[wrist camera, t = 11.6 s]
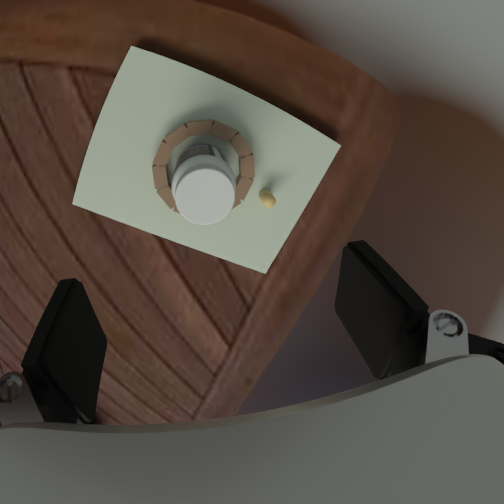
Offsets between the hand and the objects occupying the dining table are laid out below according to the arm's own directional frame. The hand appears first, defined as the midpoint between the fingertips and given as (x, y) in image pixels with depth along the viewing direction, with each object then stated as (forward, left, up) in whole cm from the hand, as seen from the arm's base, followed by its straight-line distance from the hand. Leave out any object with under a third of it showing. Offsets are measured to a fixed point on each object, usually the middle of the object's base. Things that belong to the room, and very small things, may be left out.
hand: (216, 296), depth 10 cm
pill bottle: (0, 0, -19) cm, 19 cm away
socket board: (0, 0, -20) cm, 20 cm away
